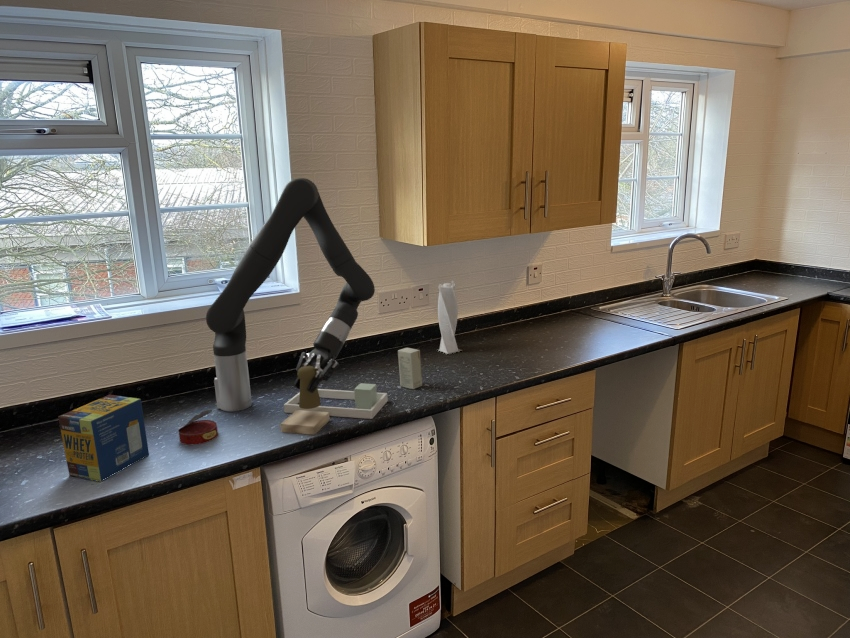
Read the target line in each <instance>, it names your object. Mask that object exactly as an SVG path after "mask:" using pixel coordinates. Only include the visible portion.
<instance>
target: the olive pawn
mask: <svg viewBox="0 0 850 638" xmlns="http://www.w3.org/2000/svg"><path fill="white" fill-rule="evenodd" d="M314 375H315V368H314V367H312V366H310V365H308V366H304V367H302V366H301V368H299V370H298V371H297V377H298V378H299V379H300V389H299V392H300V397H299V403H298V405H299V407H300V408H303V409H312V408H316V407H318V406H322V403H321V402H322V401H321V398H320V397H319V393H318V389H319V388H318V387H317V388H316V390H315V391H314V392H313V393H310V392H309V391H307V387H308V385H309V383H310V382H311V380H312V378H314Z"/></svg>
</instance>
